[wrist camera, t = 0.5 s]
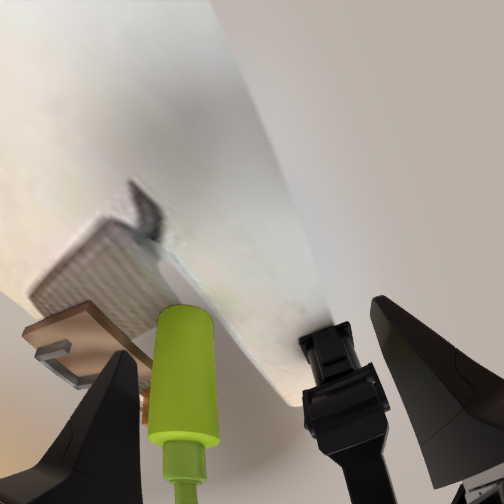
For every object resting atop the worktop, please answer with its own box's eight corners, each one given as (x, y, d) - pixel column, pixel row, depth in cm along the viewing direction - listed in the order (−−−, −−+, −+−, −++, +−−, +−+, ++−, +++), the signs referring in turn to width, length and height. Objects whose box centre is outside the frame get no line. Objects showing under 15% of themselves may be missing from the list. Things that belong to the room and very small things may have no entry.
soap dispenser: (154, 339, 31) (145, 514, 15) (162, 299, 27) (149, 515, 11) (203, 348, 32) (213, 518, 16) (219, 310, 29) (238, 517, 13)
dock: (161, 368, 34) (160, 387, 32) (91, 382, 36) (88, 398, 34) (89, 300, 26) (82, 322, 24) (25, 327, 28) (17, 345, 26)
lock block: (189, 397, 40) (189, 431, 35) (163, 401, 41) (162, 434, 36) (171, 384, 37) (170, 421, 33) (144, 389, 38) (141, 424, 33)
